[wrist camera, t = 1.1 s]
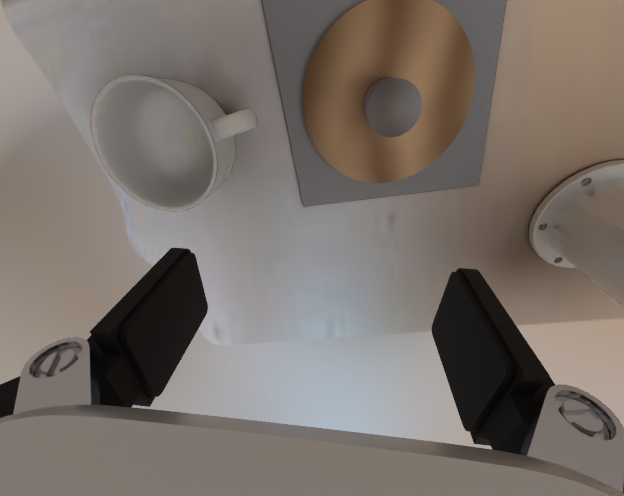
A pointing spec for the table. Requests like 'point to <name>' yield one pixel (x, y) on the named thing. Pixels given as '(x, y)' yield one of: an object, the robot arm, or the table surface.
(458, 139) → the mat
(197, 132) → the teacup
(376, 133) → the lid
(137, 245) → the table surface
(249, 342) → the table surface
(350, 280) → the table surface
